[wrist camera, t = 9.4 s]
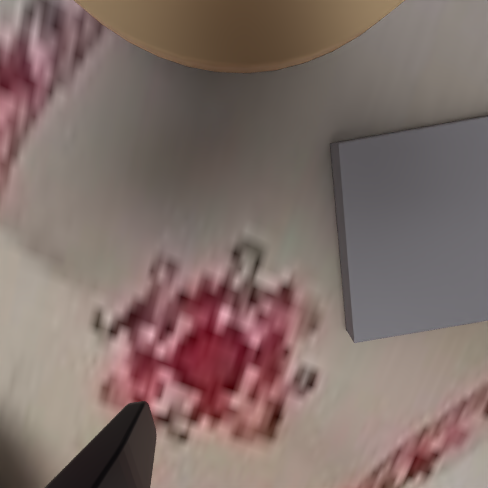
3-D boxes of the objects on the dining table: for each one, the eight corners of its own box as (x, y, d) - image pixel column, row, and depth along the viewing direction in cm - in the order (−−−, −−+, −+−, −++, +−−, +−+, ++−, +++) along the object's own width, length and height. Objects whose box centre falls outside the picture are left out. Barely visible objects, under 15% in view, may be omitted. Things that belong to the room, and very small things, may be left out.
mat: (546, 105, 18) (573, 102, 17) (526, 299, 22) (547, 310, 20) (330, 143, 18) (338, 143, 17) (346, 329, 22) (354, 342, 20)
